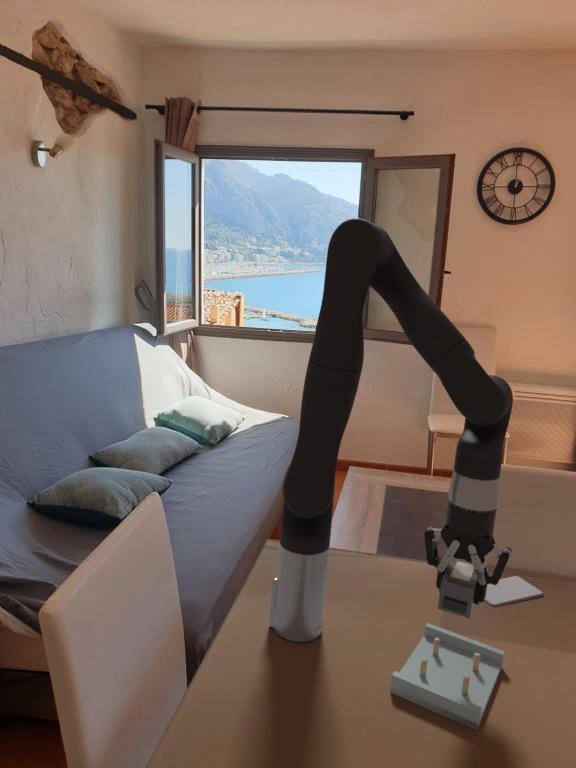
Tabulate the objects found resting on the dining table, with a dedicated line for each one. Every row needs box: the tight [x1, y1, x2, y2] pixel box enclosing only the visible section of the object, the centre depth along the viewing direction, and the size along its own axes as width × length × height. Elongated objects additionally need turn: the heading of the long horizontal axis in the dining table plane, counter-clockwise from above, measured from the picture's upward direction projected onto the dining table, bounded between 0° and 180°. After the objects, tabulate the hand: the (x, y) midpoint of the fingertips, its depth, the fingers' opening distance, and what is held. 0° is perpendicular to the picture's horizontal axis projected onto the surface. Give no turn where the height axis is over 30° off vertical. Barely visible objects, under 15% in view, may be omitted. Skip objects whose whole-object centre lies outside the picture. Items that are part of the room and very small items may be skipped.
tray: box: [389, 622, 505, 731], centre depth 100 cm, size 14×18×4 cm
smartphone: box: [483, 575, 544, 607], centre depth 130 cm, size 8×1×15 cm
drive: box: [437, 557, 478, 620], centre depth 97 cm, size 10×5×5 cm, turn 154°
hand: (459, 596), depth 97 cm, fingers closed on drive, 5 cm apart
